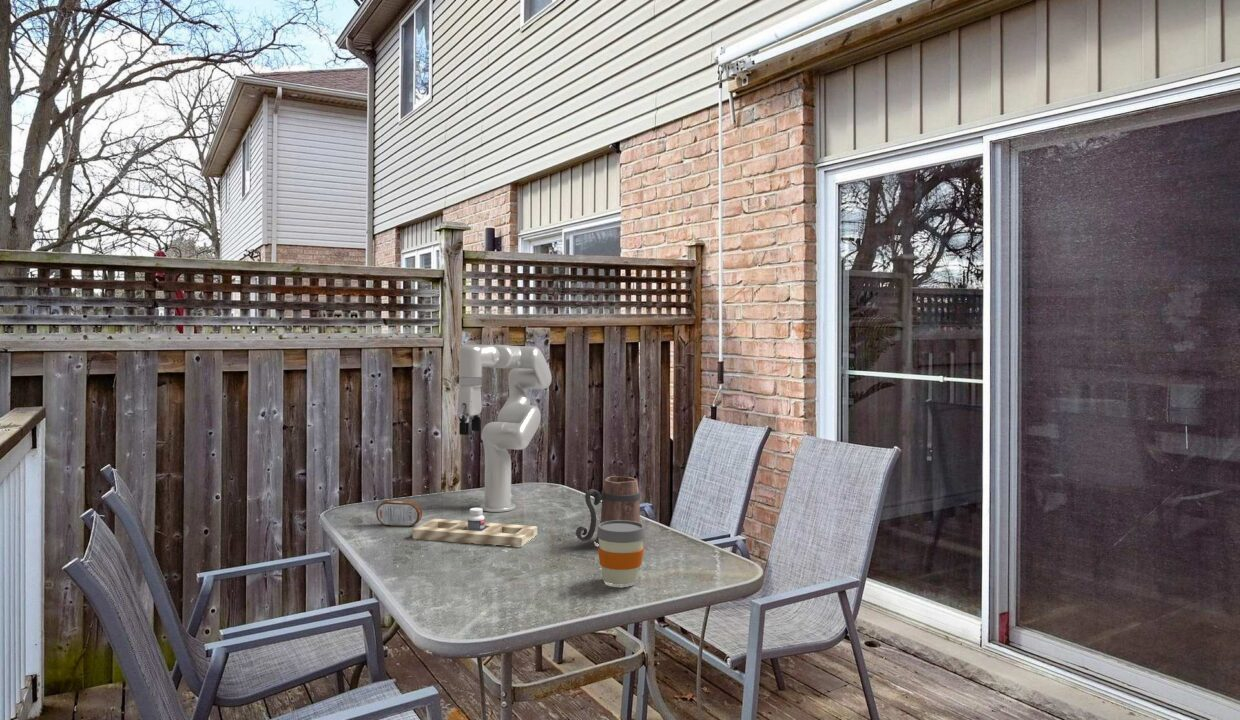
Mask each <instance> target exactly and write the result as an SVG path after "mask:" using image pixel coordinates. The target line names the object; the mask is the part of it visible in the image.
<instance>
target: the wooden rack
mask: <svg viewBox="0 0 1240 720" xmlns="http://www.w3.org/2000/svg"><path fill="white" fill-rule="evenodd" d="M536 535H537V536H538V526H536V525H523V524H510V523H500V522H499V523H498V522H496V523H495V522H487V521H485V529H484V530H483V531H471V530H468V520H458V519H448V518H447V519H444V518H435V517H434V518H432V519H429V520H428V521H426V522H423V523H422V524H419V525H418V526H415V528H413V529H412V539H413V540H422V541H423V540H426V541H437V542H449V543H462V544H471V543H474V544H473V545H484V544H494V545H493V546H496V545H510V546H523V545H524V544H526V543H527V542H528V541H530V540H531V539H532V538H534V537H535V536H536ZM537 536H536V537H537ZM536 537H535V538H536ZM535 538H534V539H535ZM532 540H533V539H532ZM532 540H531V541H532ZM531 541H530V542H531ZM528 543H529V542H528ZM528 543H527V544H528ZM527 544H526V545H527ZM524 546H525V545H524ZM524 546H523V547H524Z"/></svg>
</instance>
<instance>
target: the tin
mask: <svg viewBox="0 0 1240 720" xmlns="http://www.w3.org/2000/svg"><path fill="white" fill-rule="evenodd" d="M422 511H423V510H422V508H421V506H420V505H419V504H418V502H416V501H413V500H402V499H401V500H399V499H387V500H383V501H382V502H381V503H380V504H379V505H378V506H377V508H376V512H375V514H376V519H377V521H378V522H379V523H380V524H381V525H383V526H386V525H390V526H389V527H402V526H411V527H414V526H415V525H416V524H418V523H420V521H421V520H422V516H423V512H422Z"/></svg>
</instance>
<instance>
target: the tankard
mask: <svg viewBox="0 0 1240 720" xmlns="http://www.w3.org/2000/svg"><path fill="white" fill-rule="evenodd" d="M592 494H593V499H594V501H593V503H592V501H591V496H592ZM584 498H585V503H586V507H587V508H588V510H589V513H590V525H589V530H588V529H587V528H586V527H585V526H582V525H580V526H579V527H577V528H576V530H575V535H576V537H577V539H579V540H580V541H582V542H588V541H590V540H591V539H592V537H593V536H594V534H595V531H596V527H597V513H596V509H595V508H594V506H593V505H595V506H597V505H599V504H600V503H601V512H600V521H599V524H600V523H602V522H606V521H612V520H628V521H635V522H639V523H641V524H642V522H641V513H640V511H641V507H640V505H641V504H640V499H641V492H640V488H639V482H638V478H635V477H631V476H619V475H618V476H617V475H614V476H613V475H612V476H608V477H606V478H605V479H604V482H603V486H602V490H601V491H598V490H596V489H594V488H590V489H588V490H587V491H586V493H585V495H584ZM582 536H583V537H582ZM594 540H595V539H594ZM644 540H645V538H644V539H643V542H644ZM595 542H596V543H598V544H599V539H598V537H597V536H596V540H595Z"/></svg>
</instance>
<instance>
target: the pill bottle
mask: <svg viewBox="0 0 1240 720" xmlns="http://www.w3.org/2000/svg"><path fill="white" fill-rule="evenodd" d="M483 512H484V510H483V509H482V508H480V507H472V508H469V516H468V517H467V521H468V530H471V531H483V530H484V529H485V522H486V521H485V520H486V519H485V515H483Z"/></svg>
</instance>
